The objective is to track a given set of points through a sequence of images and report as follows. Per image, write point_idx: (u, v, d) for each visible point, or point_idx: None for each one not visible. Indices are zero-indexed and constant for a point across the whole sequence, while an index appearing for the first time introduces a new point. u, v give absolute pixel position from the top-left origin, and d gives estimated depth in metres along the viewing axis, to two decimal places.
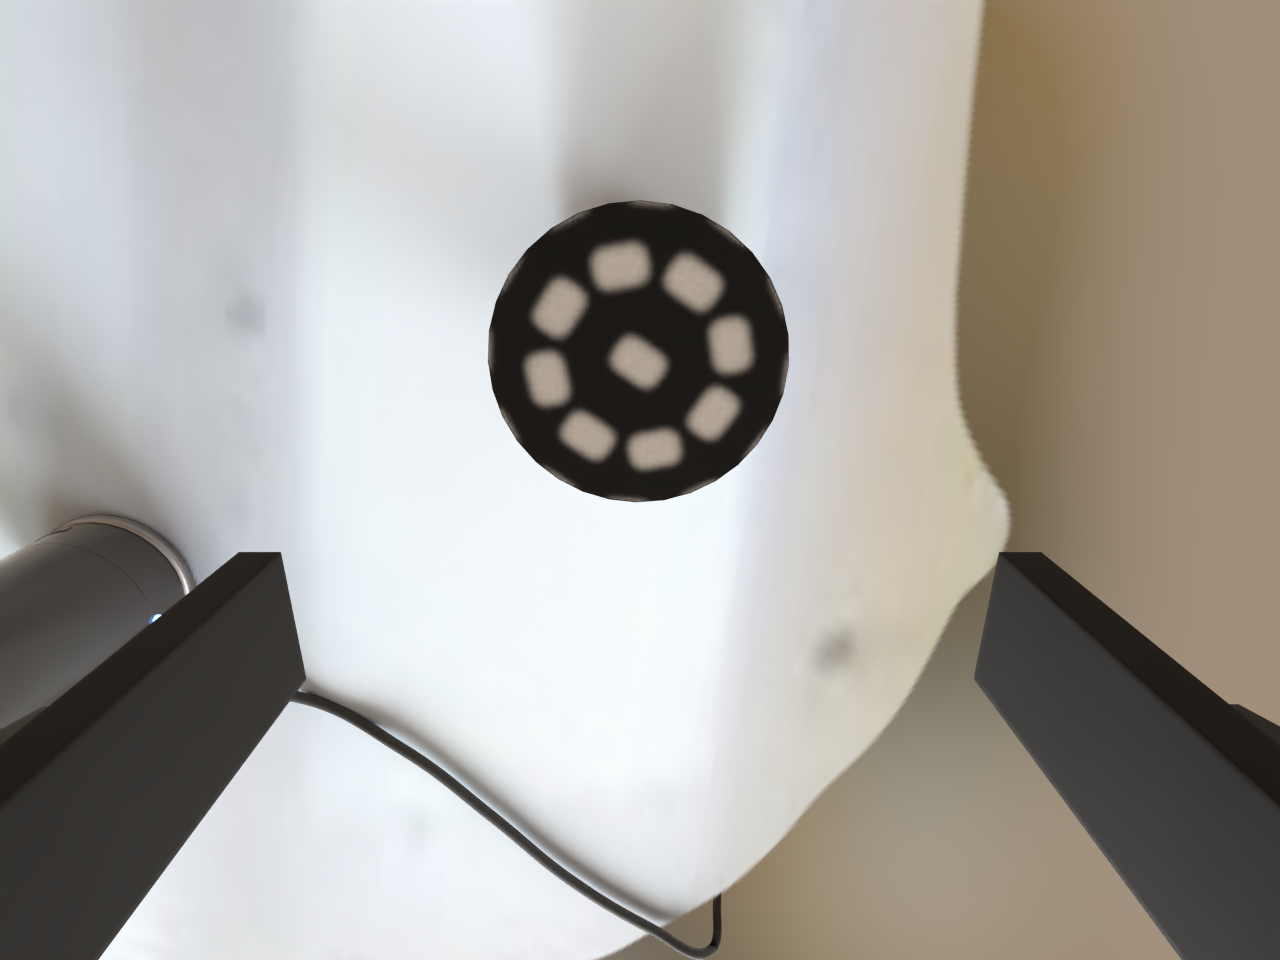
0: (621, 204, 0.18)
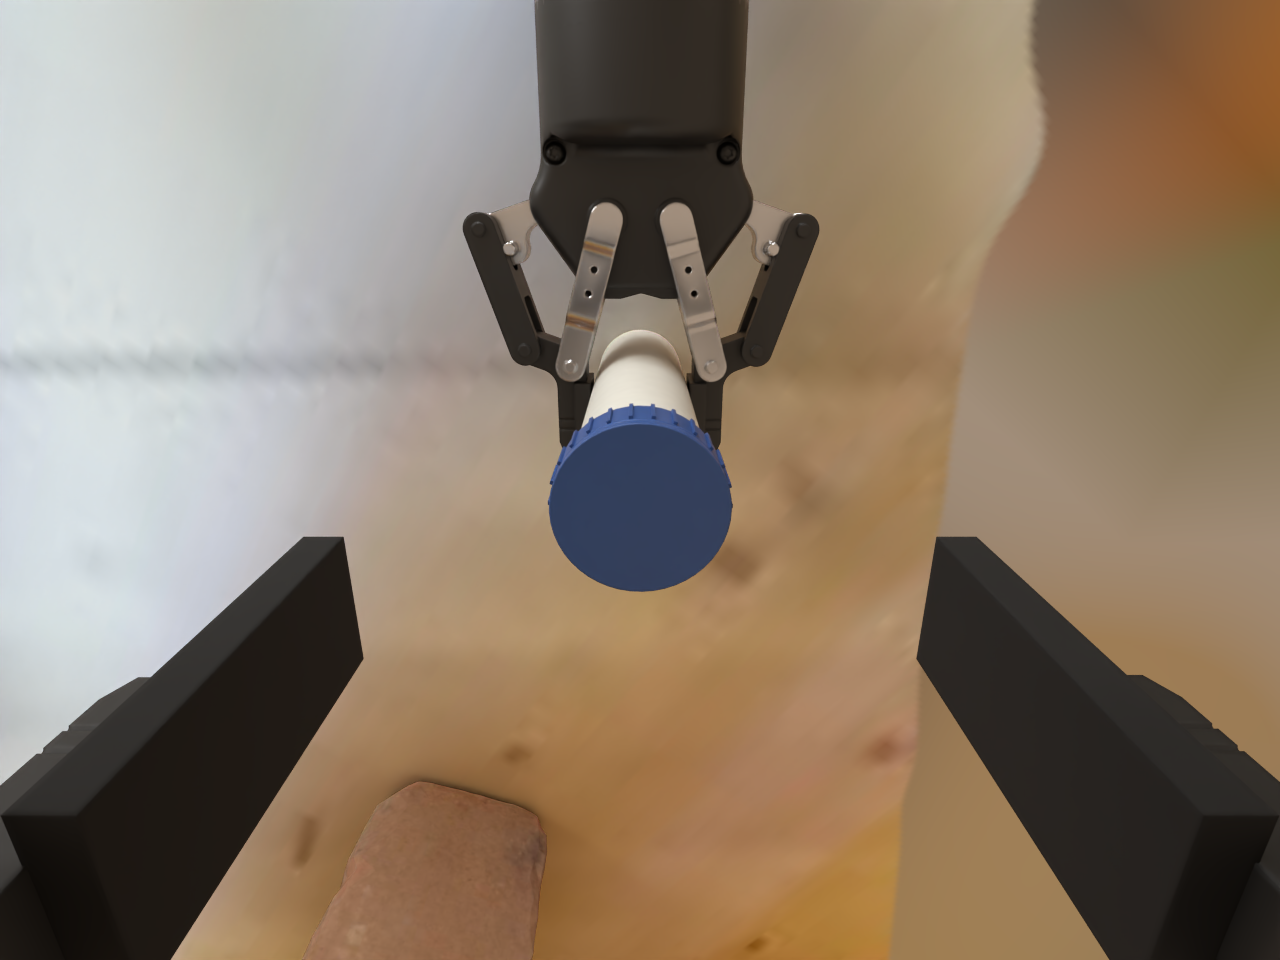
0: None
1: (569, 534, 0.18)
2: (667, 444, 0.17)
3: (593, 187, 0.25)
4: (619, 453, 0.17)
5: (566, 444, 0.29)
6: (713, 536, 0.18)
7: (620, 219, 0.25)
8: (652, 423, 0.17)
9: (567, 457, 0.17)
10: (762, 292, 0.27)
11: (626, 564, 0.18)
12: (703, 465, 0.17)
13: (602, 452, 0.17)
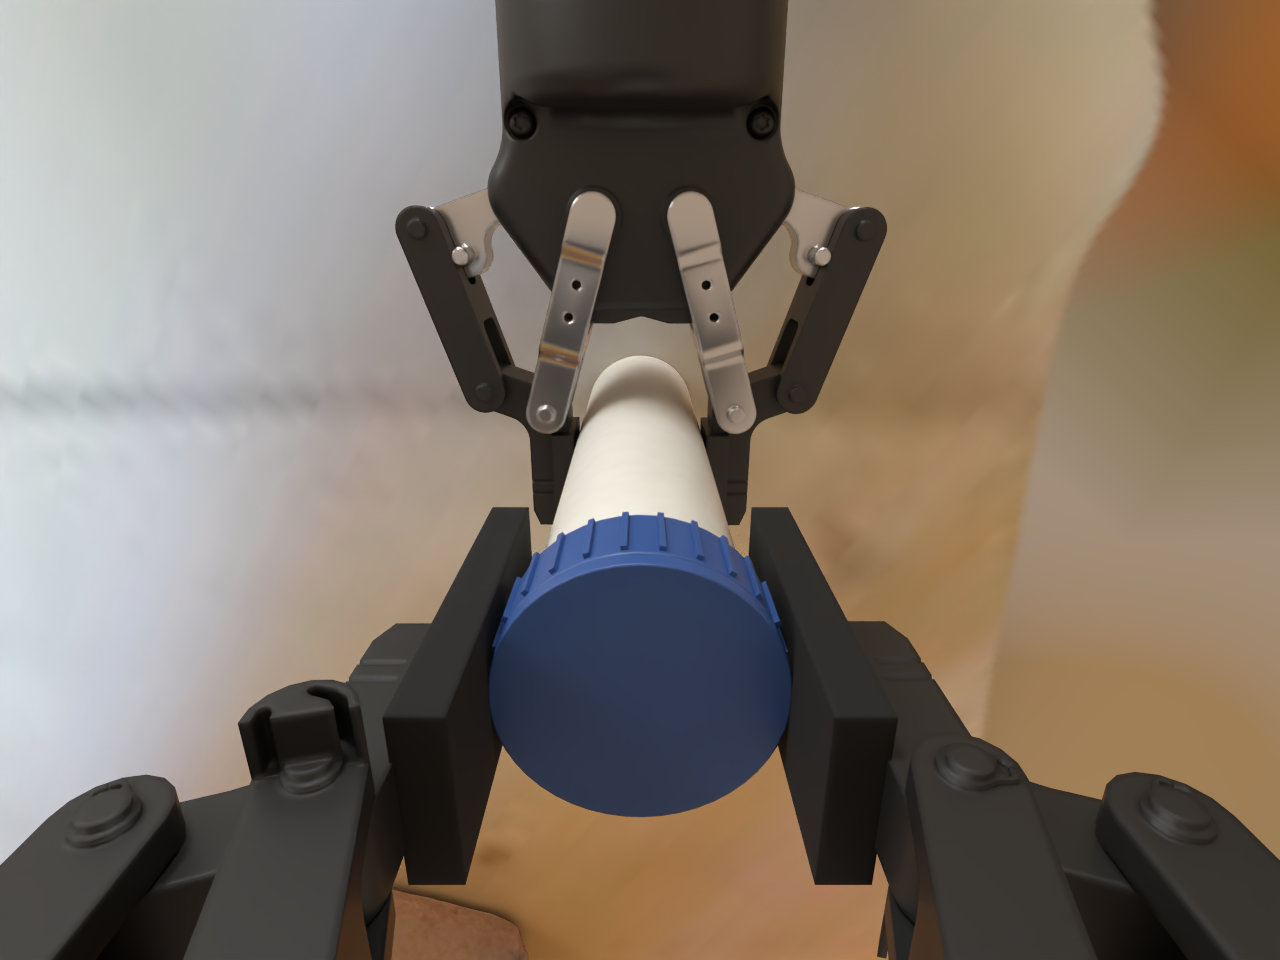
0: None
1: (522, 735, 0.11)
2: (687, 598, 0.10)
3: (575, 171, 0.18)
4: (604, 611, 0.10)
5: (542, 513, 0.22)
6: (761, 738, 0.11)
7: (612, 215, 0.18)
8: (661, 563, 0.10)
9: (516, 617, 0.10)
10: (806, 315, 0.20)
11: (617, 778, 0.11)
12: (747, 630, 0.10)
13: (575, 610, 0.10)
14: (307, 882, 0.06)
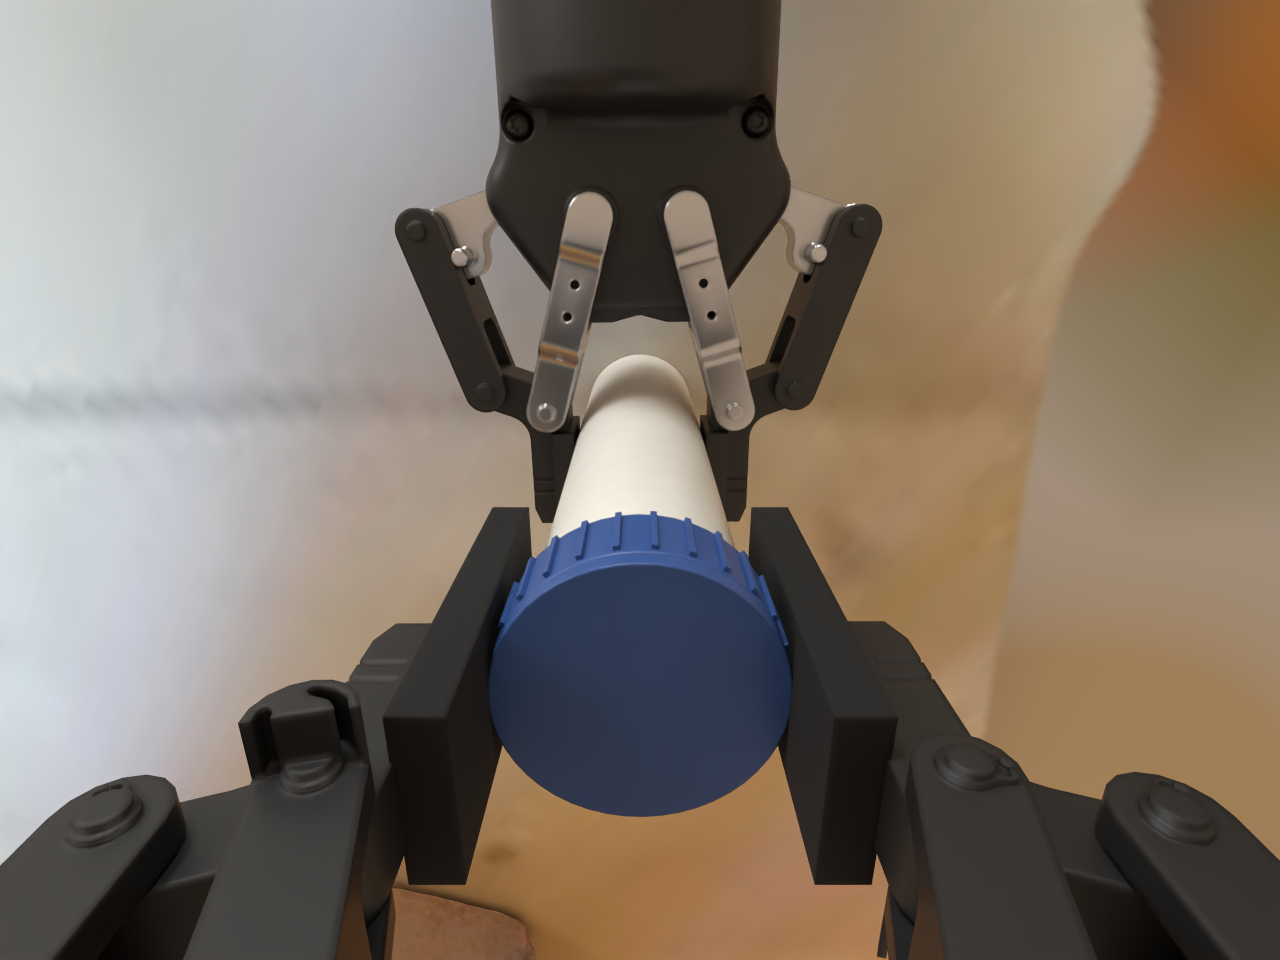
0: None
1: (743, 756, 0.11)
2: (523, 729, 0.11)
3: (572, 171, 0.18)
4: (582, 771, 0.11)
5: (544, 511, 0.22)
6: (598, 589, 0.10)
7: (609, 215, 0.18)
8: (514, 757, 0.11)
9: (637, 815, 0.11)
10: (803, 311, 0.20)
11: (735, 665, 0.10)
12: (510, 674, 0.10)
13: (597, 788, 0.11)
14: (307, 882, 0.06)
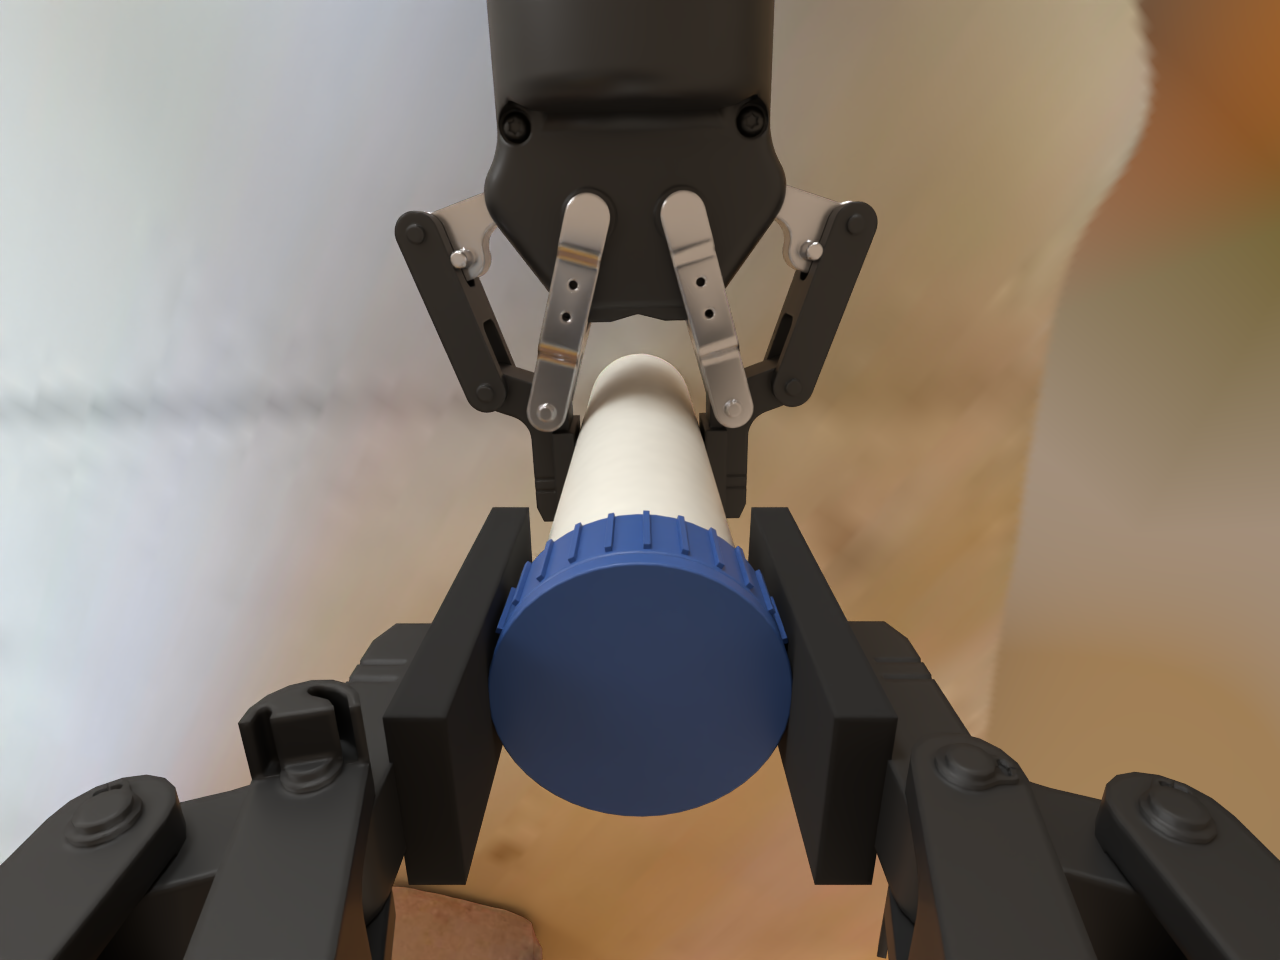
0: None
1: (630, 588, 0.10)
2: (738, 759, 0.11)
3: (569, 173, 0.19)
4: (748, 695, 0.10)
5: (545, 510, 0.22)
6: (568, 785, 0.11)
7: (606, 215, 0.18)
8: (775, 743, 0.11)
9: (768, 621, 0.10)
10: (800, 309, 0.20)
11: (549, 659, 0.10)
12: (689, 794, 0.11)
13: (758, 673, 0.10)
14: (307, 882, 0.06)
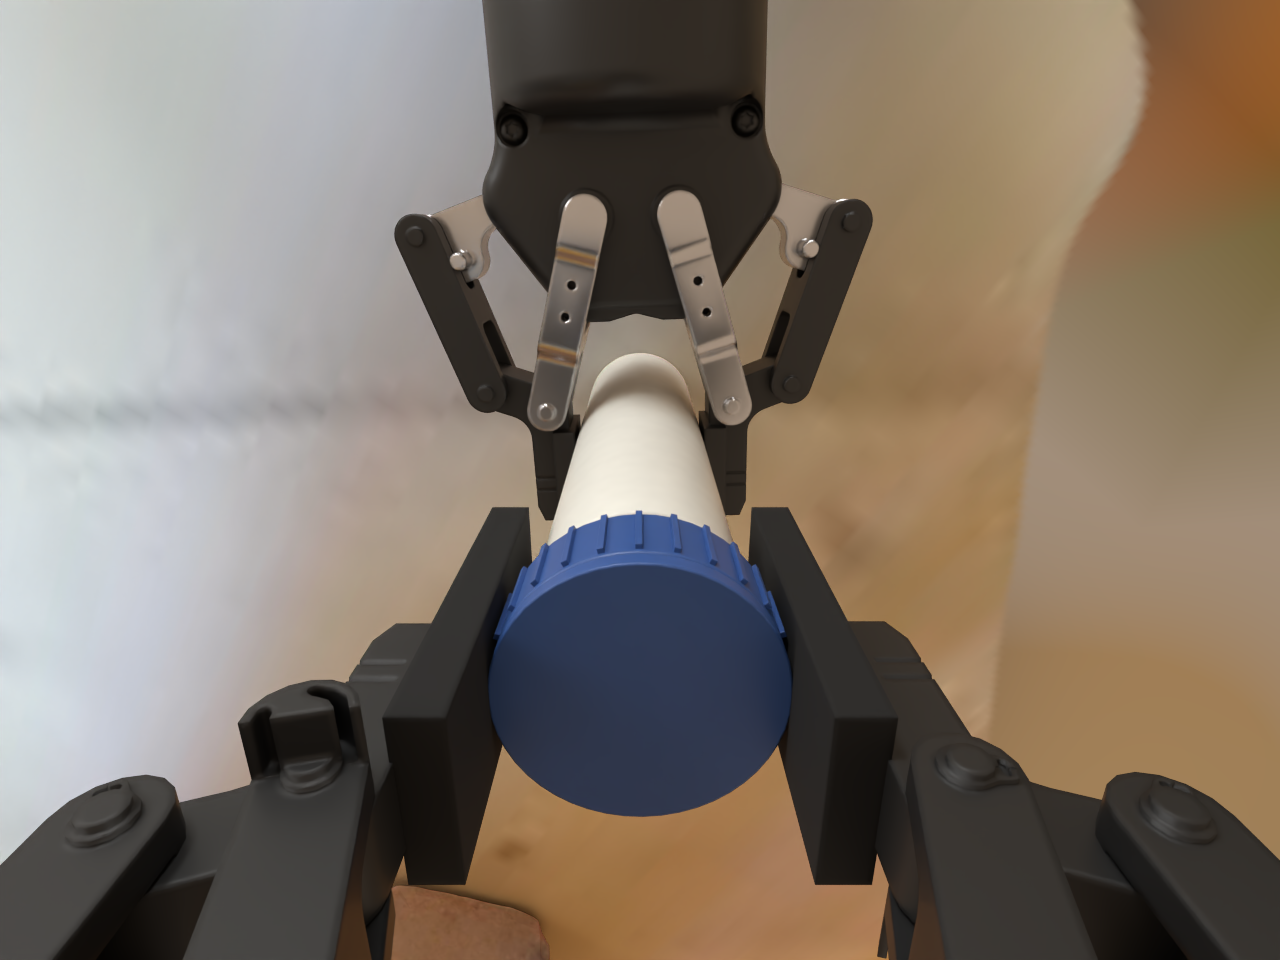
0: None
1: (549, 767, 0.11)
2: (637, 590, 0.10)
3: (566, 174, 0.19)
4: (567, 629, 0.10)
5: (547, 509, 0.23)
6: (772, 696, 0.10)
7: (603, 216, 0.18)
8: (597, 566, 0.10)
9: (491, 663, 0.10)
10: (797, 306, 0.20)
11: (655, 779, 0.11)
12: (708, 599, 0.10)
13: (540, 638, 0.10)
14: (307, 882, 0.06)
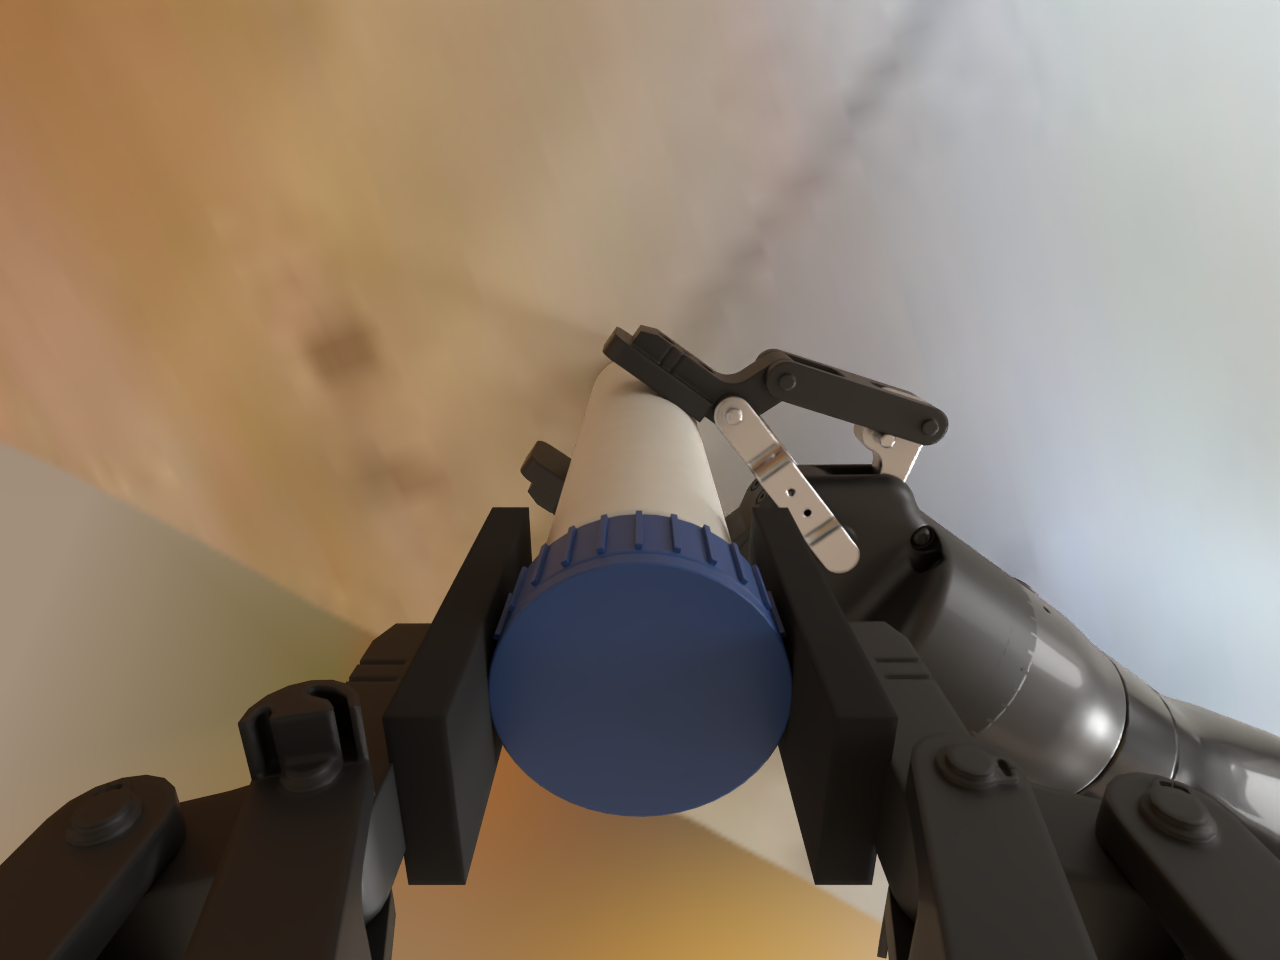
0: None
1: (549, 767, 0.11)
2: (636, 590, 0.10)
3: (869, 551, 0.23)
4: (567, 629, 0.10)
5: (649, 340, 0.21)
6: (772, 696, 0.10)
7: (831, 568, 0.22)
8: (598, 566, 0.10)
9: (491, 663, 0.10)
10: None
11: (655, 779, 0.11)
12: (708, 599, 0.10)
13: (540, 638, 0.10)
14: (307, 882, 0.06)
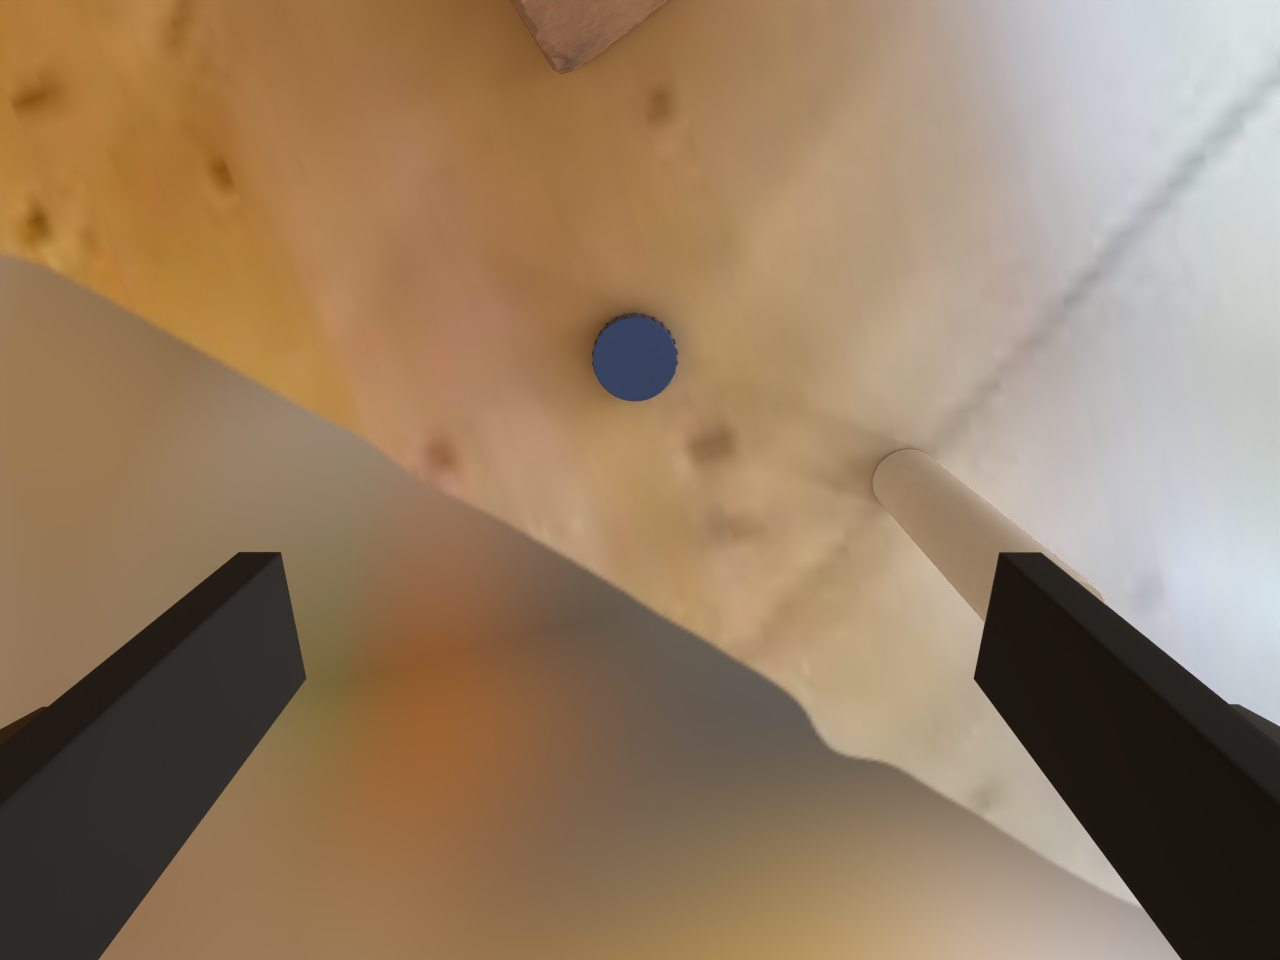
0: None
1: (609, 383, 0.39)
2: (633, 325, 0.38)
3: None
4: (615, 337, 0.38)
5: None
6: (671, 358, 0.38)
7: None
8: (623, 319, 0.38)
9: (594, 348, 0.38)
10: None
11: (639, 387, 0.39)
12: (652, 328, 0.38)
13: (608, 340, 0.38)
14: None
